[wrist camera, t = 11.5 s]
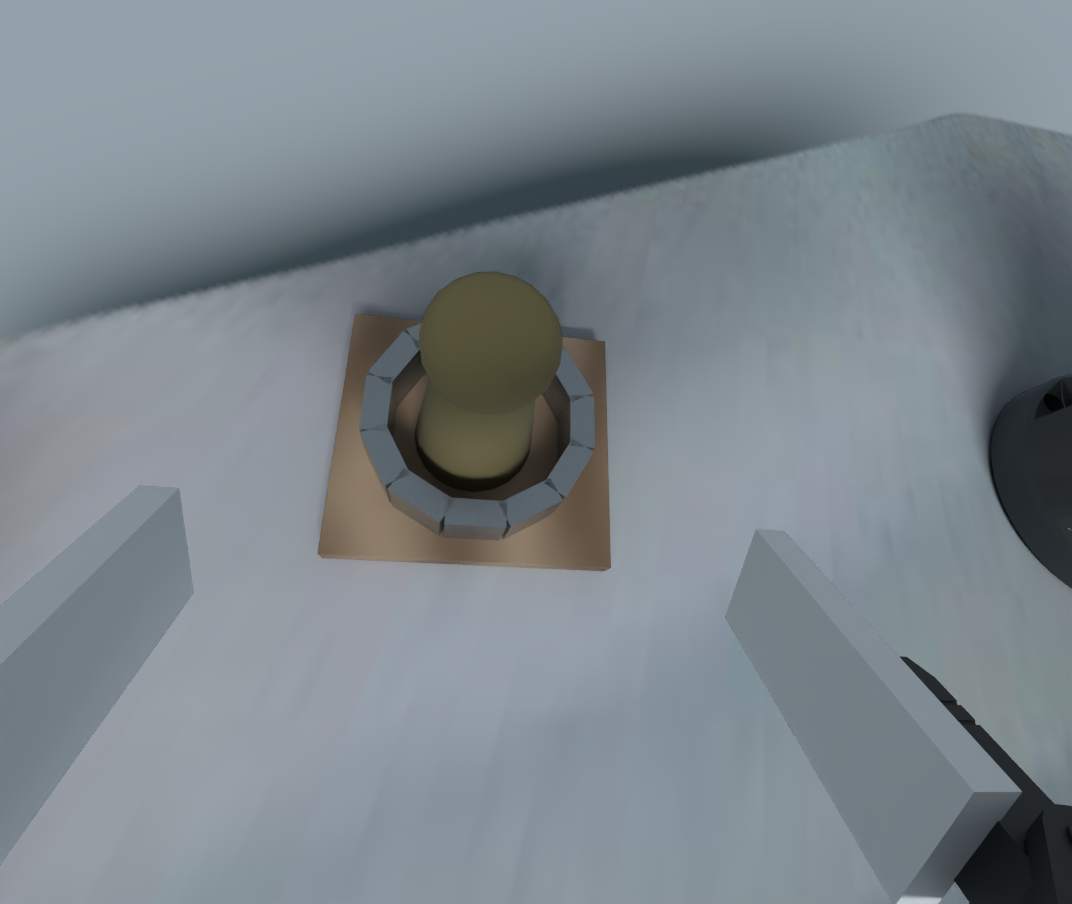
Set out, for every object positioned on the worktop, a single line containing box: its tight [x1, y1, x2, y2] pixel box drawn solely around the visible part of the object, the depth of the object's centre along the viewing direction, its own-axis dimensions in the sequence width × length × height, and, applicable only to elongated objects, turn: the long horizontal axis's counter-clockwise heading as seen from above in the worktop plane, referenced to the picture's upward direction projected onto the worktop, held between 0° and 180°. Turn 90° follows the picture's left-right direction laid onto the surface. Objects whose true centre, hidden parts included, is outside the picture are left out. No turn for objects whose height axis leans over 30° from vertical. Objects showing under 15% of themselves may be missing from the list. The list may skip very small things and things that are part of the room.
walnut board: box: [318, 314, 611, 571], centre depth 29 cm, size 14×13×1 cm
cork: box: [415, 272, 563, 492], centre depth 24 cm, size 6×6×11 cm
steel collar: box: [359, 324, 595, 541], centre depth 28 cm, size 11×11×3 cm
